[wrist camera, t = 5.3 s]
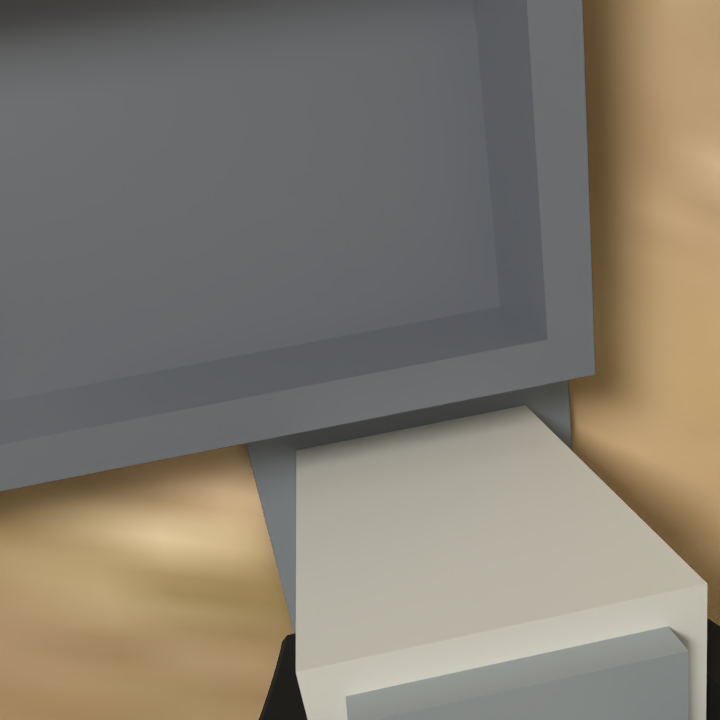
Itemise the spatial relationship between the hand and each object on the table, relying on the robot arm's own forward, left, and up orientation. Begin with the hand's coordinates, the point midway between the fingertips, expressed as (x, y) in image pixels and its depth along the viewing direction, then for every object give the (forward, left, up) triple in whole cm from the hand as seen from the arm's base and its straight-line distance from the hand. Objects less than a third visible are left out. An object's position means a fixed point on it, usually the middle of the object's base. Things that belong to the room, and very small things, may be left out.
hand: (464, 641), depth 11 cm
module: (0, 0, -3) cm, 3 cm away
